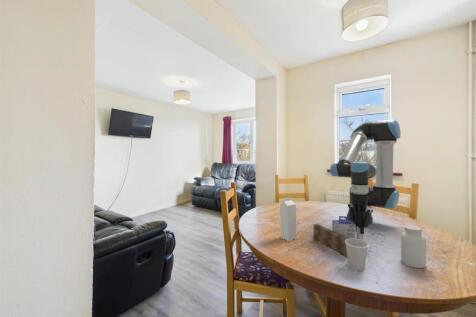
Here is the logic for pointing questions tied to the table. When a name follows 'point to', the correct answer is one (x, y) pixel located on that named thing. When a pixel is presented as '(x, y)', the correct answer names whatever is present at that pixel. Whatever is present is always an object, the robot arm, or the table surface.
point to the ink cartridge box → (344, 227)
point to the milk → (288, 219)
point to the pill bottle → (413, 247)
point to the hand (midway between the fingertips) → (359, 239)
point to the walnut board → (330, 239)
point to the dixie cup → (356, 253)
